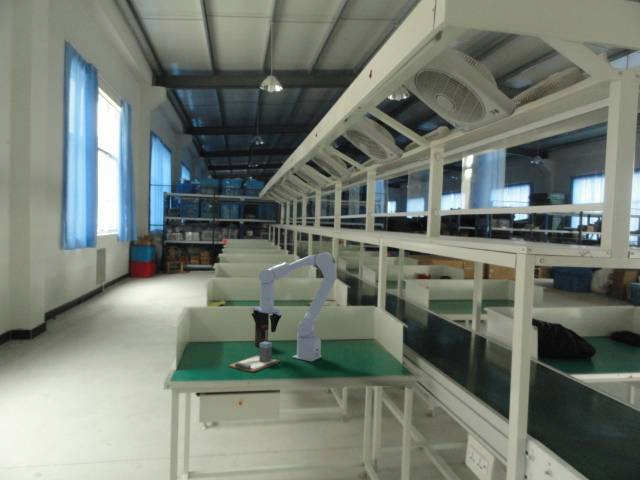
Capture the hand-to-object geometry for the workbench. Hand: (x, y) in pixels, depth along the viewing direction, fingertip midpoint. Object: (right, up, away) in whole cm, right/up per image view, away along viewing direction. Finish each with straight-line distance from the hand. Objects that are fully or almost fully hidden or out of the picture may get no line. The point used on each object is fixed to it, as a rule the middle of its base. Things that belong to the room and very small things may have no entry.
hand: (266, 330), depth 171 cm
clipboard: (-2, -10, -14) cm, 17 cm away
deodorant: (-4, -10, +14) cm, 17 cm away
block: (+1, -9, -11) cm, 15 cm away
